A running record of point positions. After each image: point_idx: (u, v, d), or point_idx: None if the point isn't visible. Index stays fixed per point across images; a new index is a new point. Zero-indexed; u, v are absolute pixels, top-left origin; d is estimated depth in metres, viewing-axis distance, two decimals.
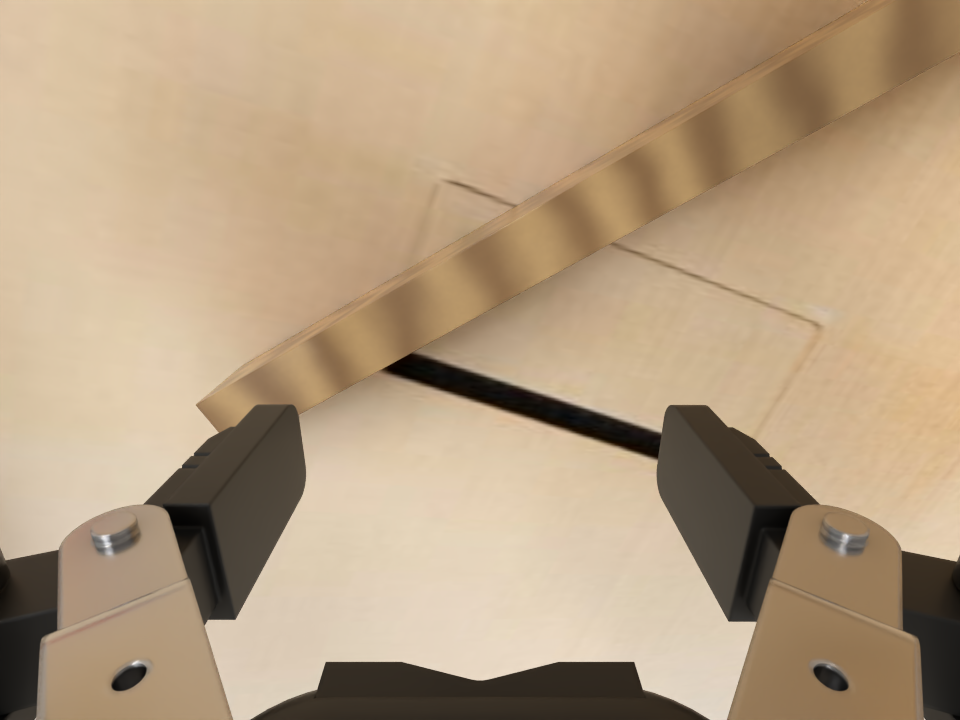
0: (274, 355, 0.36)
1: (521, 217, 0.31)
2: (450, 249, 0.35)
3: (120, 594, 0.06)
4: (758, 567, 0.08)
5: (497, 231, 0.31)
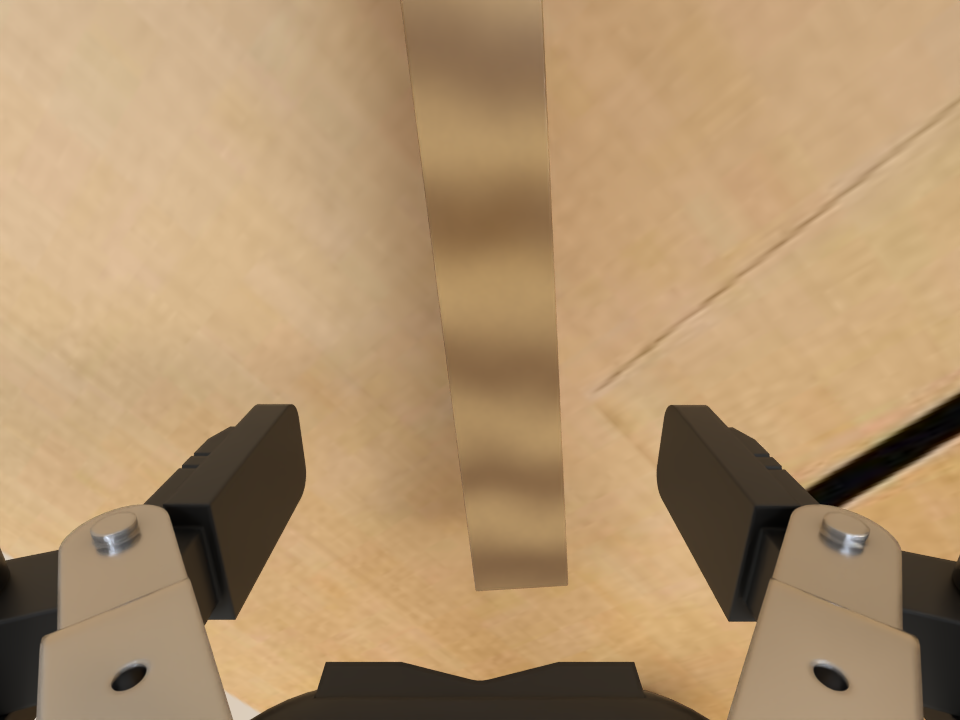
0: None
1: None
2: None
3: (120, 594, 0.06)
4: (758, 567, 0.08)
5: None
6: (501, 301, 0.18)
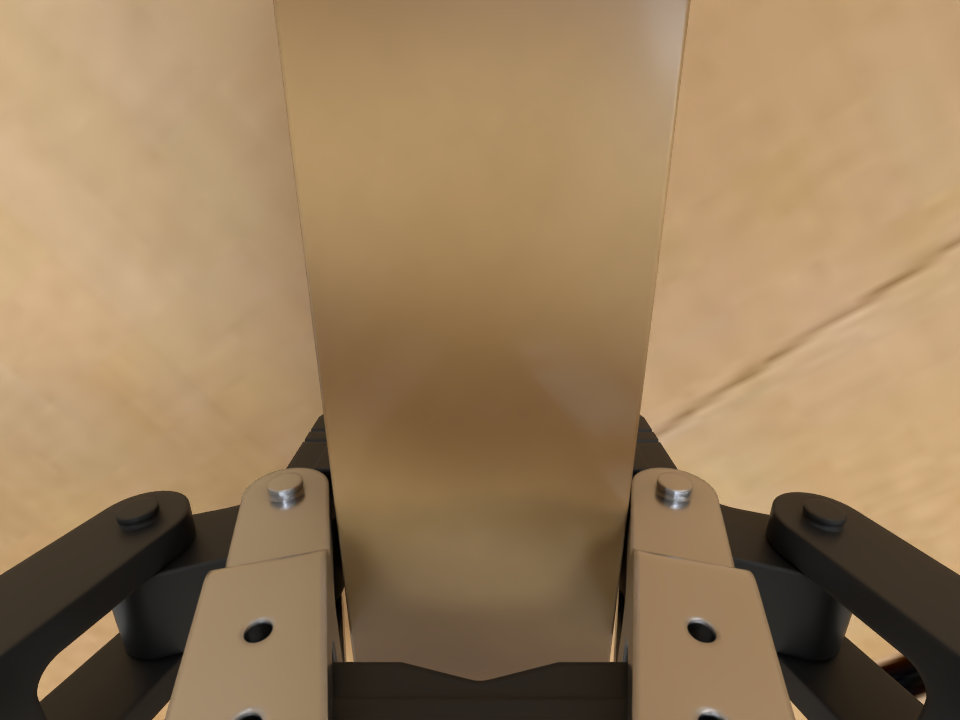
0: None
1: None
2: None
3: (276, 547, 0.06)
4: None
5: None
6: (496, 197, 0.06)
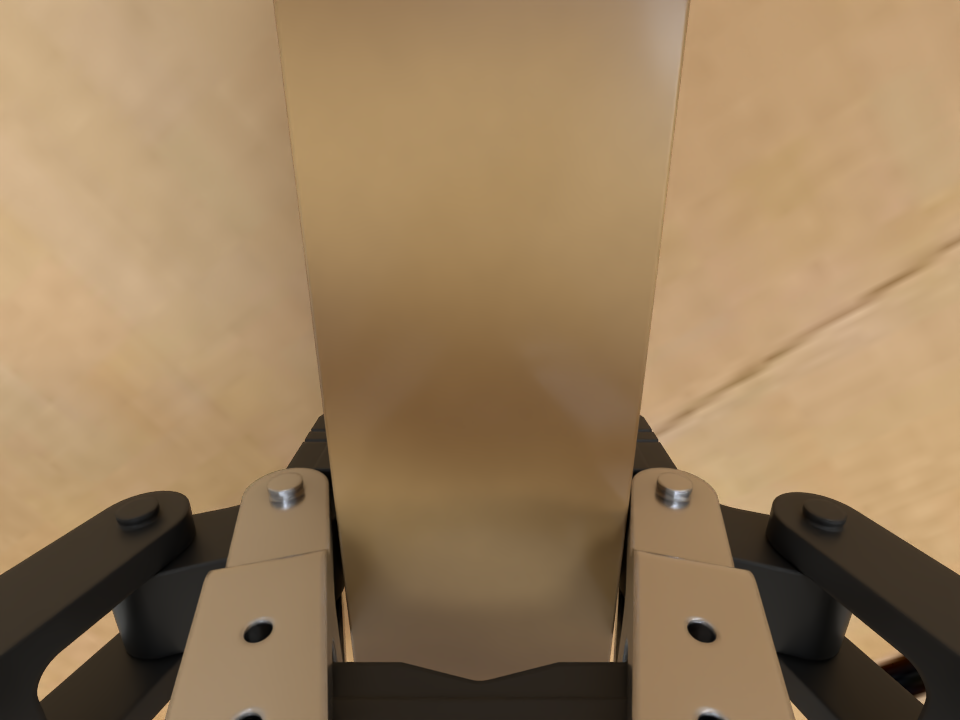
0: None
1: None
2: None
3: (276, 547, 0.06)
4: None
5: None
6: (496, 197, 0.06)
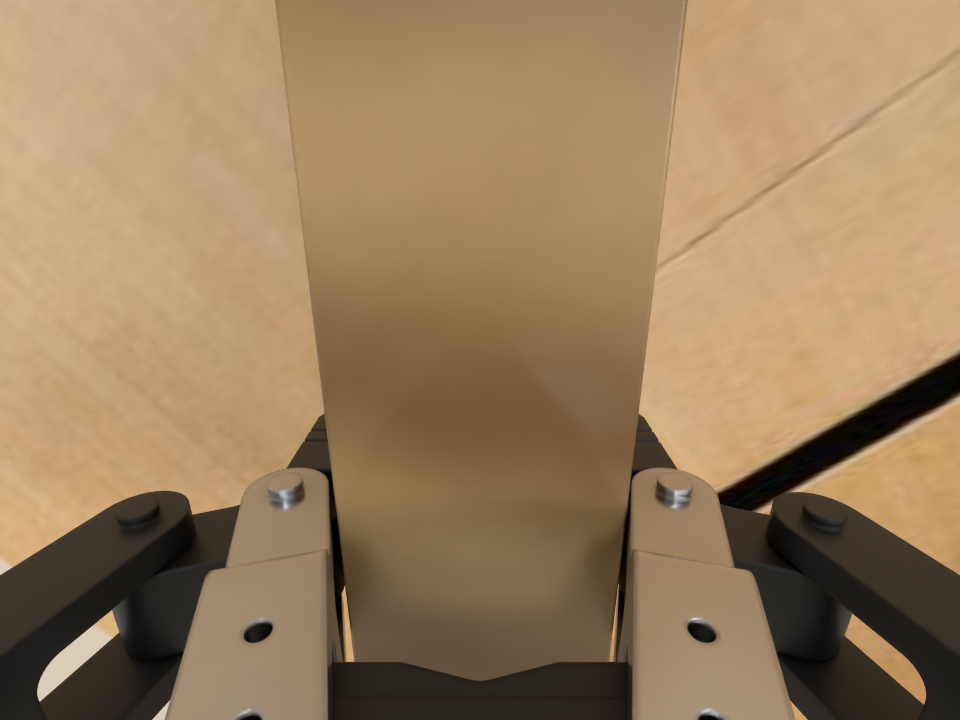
0: None
1: None
2: None
3: (276, 547, 0.06)
4: None
5: None
6: (496, 195, 0.06)
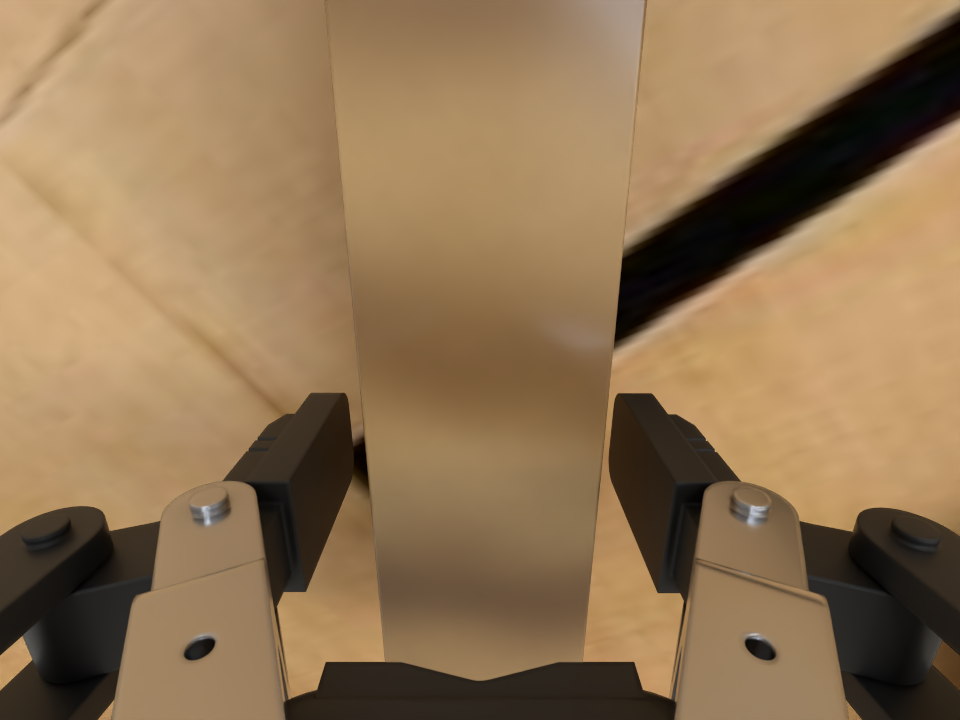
0: None
1: None
2: None
3: (206, 564, 0.06)
4: (681, 540, 0.08)
5: None
6: (496, 194, 0.07)
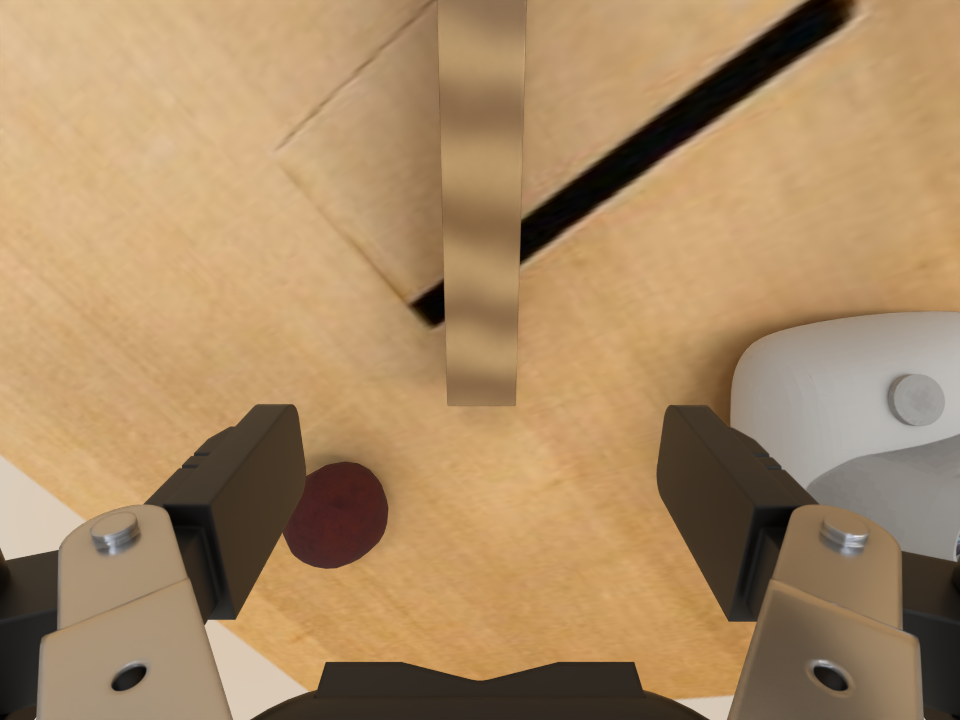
0: None
1: None
2: None
3: (120, 594, 0.06)
4: (758, 567, 0.08)
5: None
6: (484, 173, 0.26)
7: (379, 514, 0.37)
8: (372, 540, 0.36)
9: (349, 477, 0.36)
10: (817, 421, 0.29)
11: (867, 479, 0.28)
